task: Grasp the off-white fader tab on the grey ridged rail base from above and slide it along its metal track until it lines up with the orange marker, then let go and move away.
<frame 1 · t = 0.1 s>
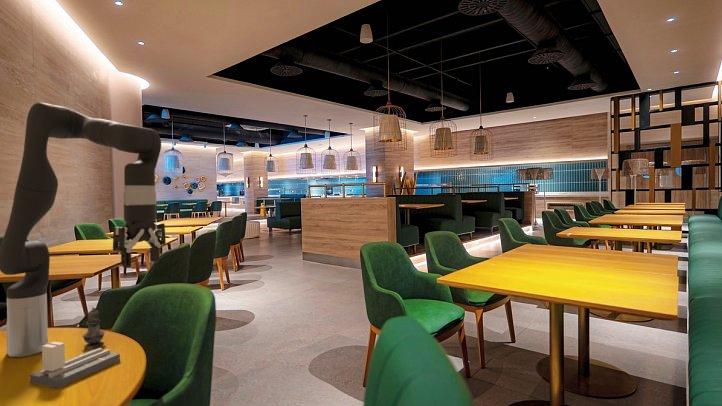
hand: (141, 264, 104), 29 cm above the table, tool pointing down, fingers open, 8 cm apart
grey ridged rail base: (77, 370, 107), on the table
fader tab: (53, 358, 101), point 6 cm above the table, slide at -6.0 cm
dark grey statuette: (94, 345, 125), on the table
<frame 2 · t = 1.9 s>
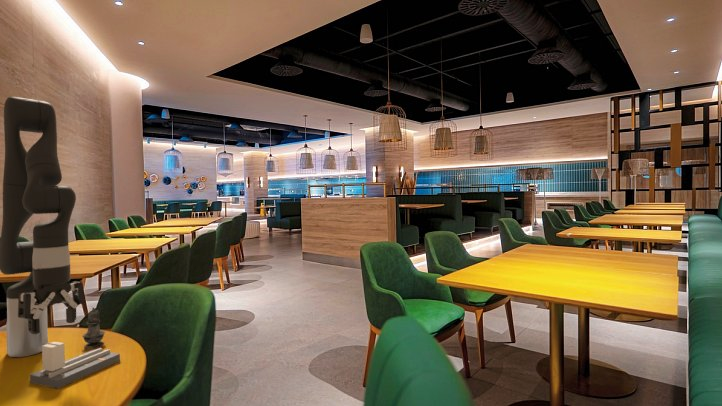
hand: (53, 327, 101), 14 cm above the table, tool pointing down, fingers open, 8 cm apart
nothing on the table moved.
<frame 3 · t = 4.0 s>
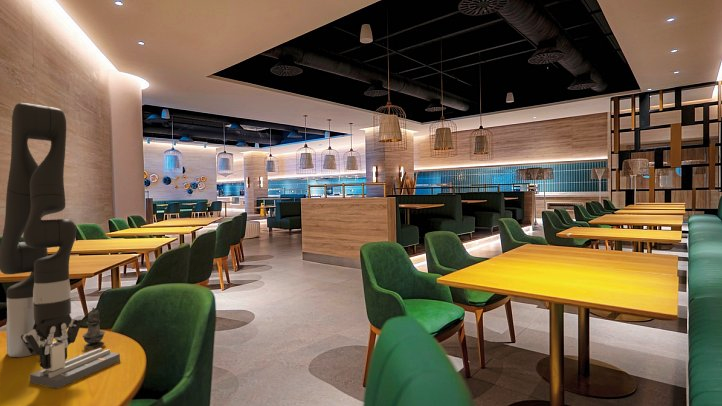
hand: (53, 364, 101), 4 cm above the table, tool pointing down, fingers closed on fader tab, 3 cm apart
fader tab: (53, 358, 101), point 6 cm above the table, slide at -6.0 cm, touching gripper
everything else where it was.
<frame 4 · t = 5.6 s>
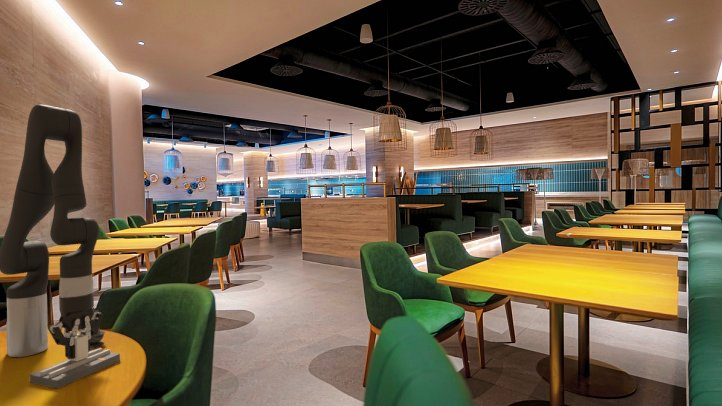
hand: (77, 355, 107), 4 cm above the table, tool pointing down, fingers closed on fader tab, 3 cm apart
fader tab: (77, 348, 107), point 6 cm above the table, slide at 0.2 cm, touching gripper
everything else where it was.
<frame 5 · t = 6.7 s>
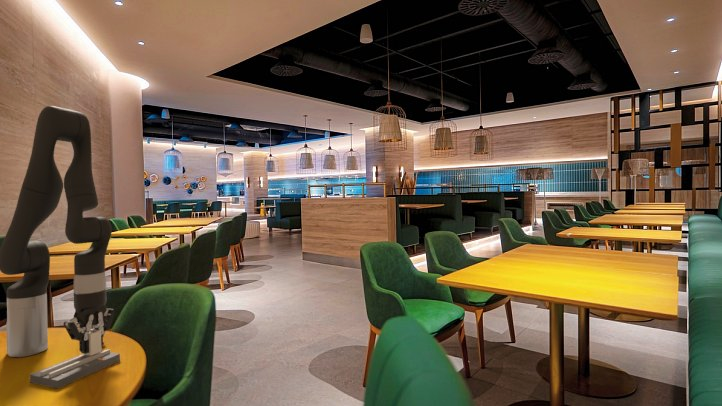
hand: (91, 350, 110), 4 cm above the table, tool pointing down, fingers closed on fader tab, 3 cm apart
fader tab: (91, 343, 110), point 6 cm above the table, slide at 4.0 cm, touching gripper
everything else where it was.
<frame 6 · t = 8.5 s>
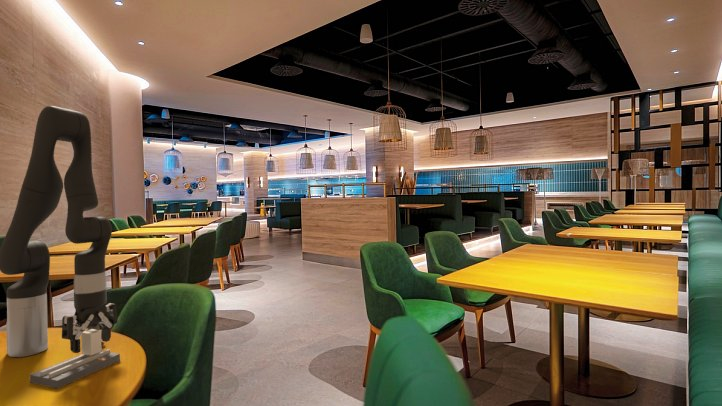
hand: (91, 346, 110), 5 cm above the table, tool pointing down, fingers open, 8 cm apart
fader tab: (91, 343, 110), point 6 cm above the table, slide at 4.0 cm
everything else where it was.
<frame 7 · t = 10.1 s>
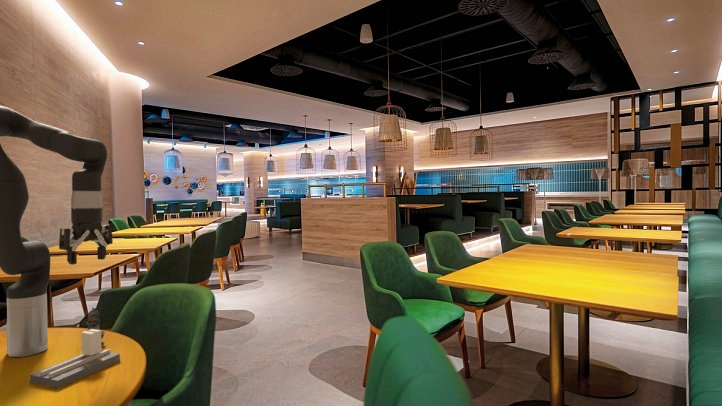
hand: (87, 261, 116), 28 cm above the table, tool pointing down, fingers open, 8 cm apart
nothing on the table moved.
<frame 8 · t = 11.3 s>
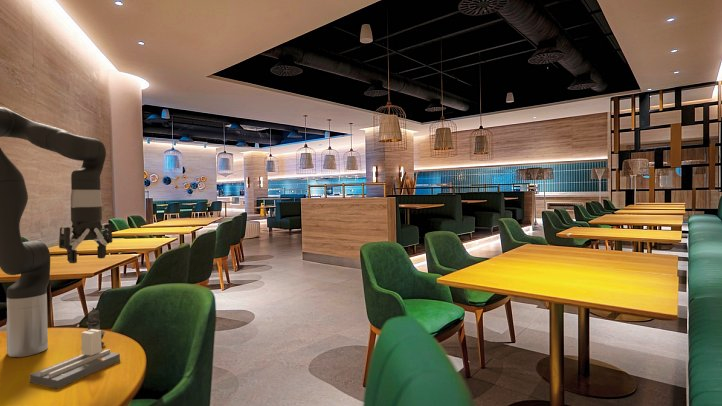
hand: (87, 260, 116), 28 cm above the table, tool pointing down, fingers open, 8 cm apart
nothing on the table moved.
at the end: fader tab slide at 4.0 cm; the gripper is holding nothing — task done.
